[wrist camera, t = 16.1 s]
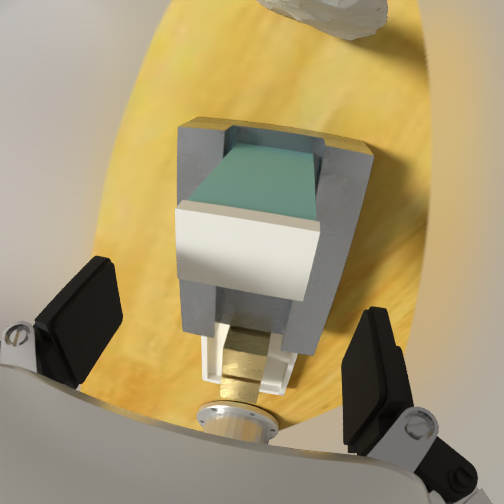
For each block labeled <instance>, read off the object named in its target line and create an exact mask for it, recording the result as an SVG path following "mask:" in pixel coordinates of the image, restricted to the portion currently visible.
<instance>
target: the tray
mask: <svg viewBox="0 0 504 504" xmlns="http://www.w3.org/2000/svg"><path fill="white" fill-rule="evenodd" d="M229 326H230V325H227V324H222V323H219V326H218V329H217V332H216V335H215V338H211V337H206V336H201V343H202V377H203V380H204V381H209V382H213V383H218V384H221V375H222V356H223V346H224V343H225V340H226V336H227V333H228V330H229ZM281 343H282V334H276V333H271V337H270V343H269V349H268V355H267V360H266V364H265V369H264V373H263V378H262V381H261V384H260V389H259V392H264V393H270V394H276V395H283V396H284V393H285V390H286V387H287V385H288V382H289V379H290V376H291V373H292V370H293V367H294V364H295V361H296V358H297V355H298V353H291V352H285V351H281Z"/></svg>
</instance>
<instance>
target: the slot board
mask: <svg viewBox="0 0 504 504" xmlns="http://www.w3.org/2000/svg"><path fill="white" fill-rule="evenodd" d="M237 143H243V144H251V145H258V146H265V147H272V148H279V149H285V150H292V151H298V152H304V153H309V154H313V161H314V178H315V198H316V221H319V222H320V235H319V239H318V244H317V248H316V252H315V256H314V260H313V264H312V268H311V272H310V276H309V280H308V284H307V288H306V292H305V295H304V299H303V301H297V300H291V299H285V298H279V297H273V296H268V295H262V294H256V293H251V292H245V291H240V290H235V289H229V288H224V287H219V286H213V285H208V284H203V283H198V282H193V281H188V280H183V279H179V282H180V299H181V315H182V328H183V331H184V332H188V333H192V334H197V335H201V336H206V337H211V338H215V335H216V332H217V329H218V326H219V323H222V324H227V325H232V326H237V327H242V328H248V329H253V330H259V331H264V332H270V333H276V334H282V343H281V351H285V352H291V353H298V354H304V355H311V356H313V355H314V353H315V350H316V347H317V345H318V342H319V339H320V337H321V334H322V331H323V328H324V326H325V323H326V320H327V317H328V314H329V312H330V309H331V306H332V303H333V300H334V297H335V294H336V291H337V288H338V285H339V282H340V279H341V276H342V272H343V269H344V266H345V263H346V260H347V256H348V253H349V250H350V246H351V243H352V240H353V236H354V233H355V229H356V226H357V222H358V219H359V215H360V211H361V208H362V204H363V200H364V196H365V192H366V188H367V185H368V181H369V176H370V172H371V168H372V164H373V160H374V155H373V153H372V152H371V151H370V149H369V148H368V147H367V145H366V144H365V143H364V141H360V140H355V139H351V138H346V137H341V136H336V135H331V134H326V133H321V132H315V131H310V130H304V129H298V128H291V127H285V126H278V125H271V124H264V123H256V122H248V121H239V120H229V119H218V118H206V117H197V118H195V119H193V120H191V121H189V122H187V123H185V124H183V125H181V126H179V127H178V142H177V206H178V205H179V204H180V202H181V201H182V200H188V199H189V197H190V196H191V195H192V194H193V193H194V192H195V190H196V189H197V188H198V187H199V186H200V185H201V183H202V182H203V181H204V180H205V179H206V178H207V176H208V175H209V174H210V173H211V172H212V171H213V170H214V169H215V167H216V166H217V165H218V164H219V163H220V162H221V161H222V160H223V158H224V157H225V156H226V155H227V154H228V153H229V152H230V151H231V150H232V148H233V147H234V146H235V145H236V144H237Z"/></svg>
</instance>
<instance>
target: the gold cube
mask: <svg viewBox="0 0 504 504" xmlns="http://www.w3.org/2000/svg"><path fill="white" fill-rule="evenodd" d="M270 337H271V333H270V332H264V331H259V330H253V329H248V328H242V327H237V326H232V325H230V326H229V330H228V333H227V336H226V340H225V343H224V346H223V356H222V373H223V374H228V375H233V376H238V377H243V378H249V379H254V380H260V381H262V378H263V373H264V369H265V364H266V360H267V355H268V349H269V343H270Z"/></svg>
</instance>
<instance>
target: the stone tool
mask: <svg viewBox="0 0 504 504" xmlns="http://www.w3.org/2000/svg"><path fill="white" fill-rule="evenodd" d="M257 1H258V2H259V3H260V4H261V5H263V6H264V7H266V8H267V9H269V10H271V11H273V12H275V13H277V14H280V15H284V16H287V17H290V18H293V19H296V20H297V21H300V22H303V23H306V24H309V25H311V26H313V27H315V28H316V29H318V30H320V31H322V32H325V33H327V34H330V35H332V36H335V37H338V38H342V39H346V40H351V41H352V40H354V39H357V38H362V37H369V36H370V35H375V33H376V31H377V29H378V28H381V27H383V26H384V25H385V23H386V22H387V20H386V19H387V18H388V17H387V13H388V5H387V0H257Z"/></svg>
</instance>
